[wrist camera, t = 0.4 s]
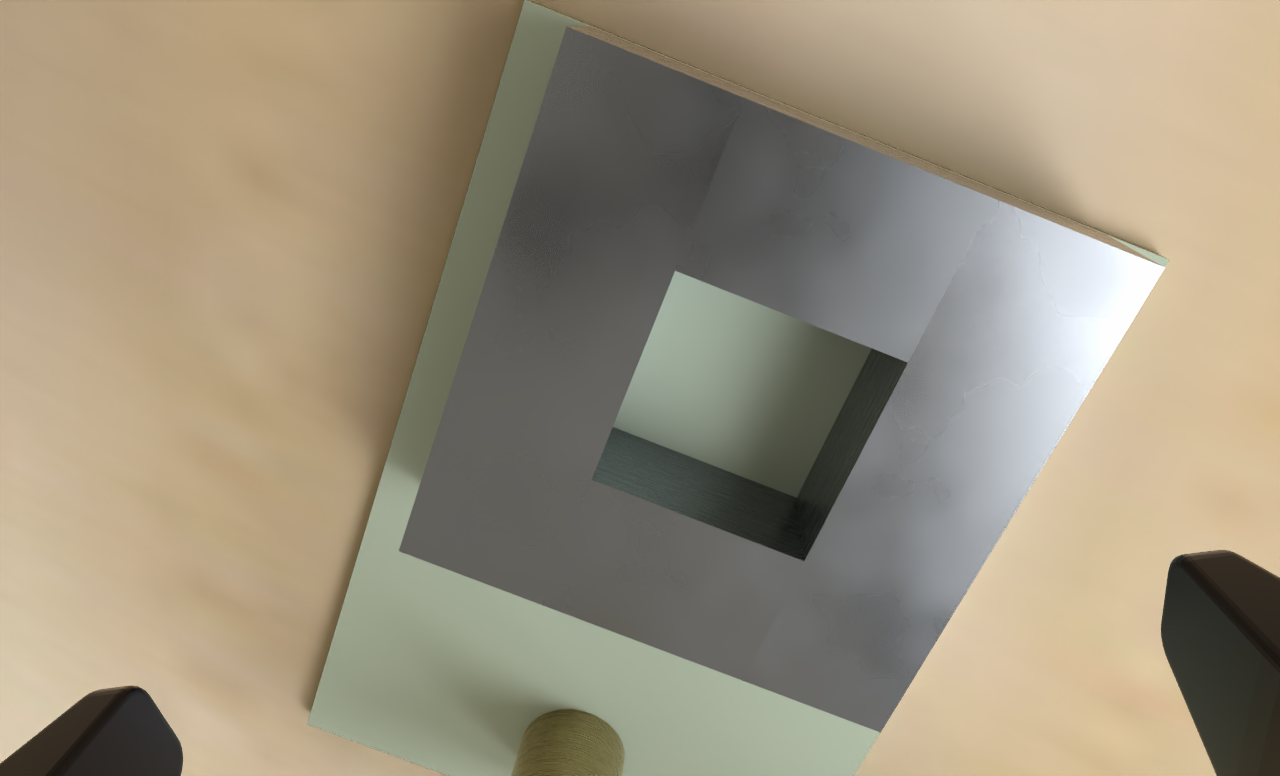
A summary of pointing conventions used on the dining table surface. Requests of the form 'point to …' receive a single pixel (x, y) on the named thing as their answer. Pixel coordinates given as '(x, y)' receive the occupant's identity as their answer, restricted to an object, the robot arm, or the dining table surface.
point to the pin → (569, 746)
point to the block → (796, 286)
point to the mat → (540, 636)
